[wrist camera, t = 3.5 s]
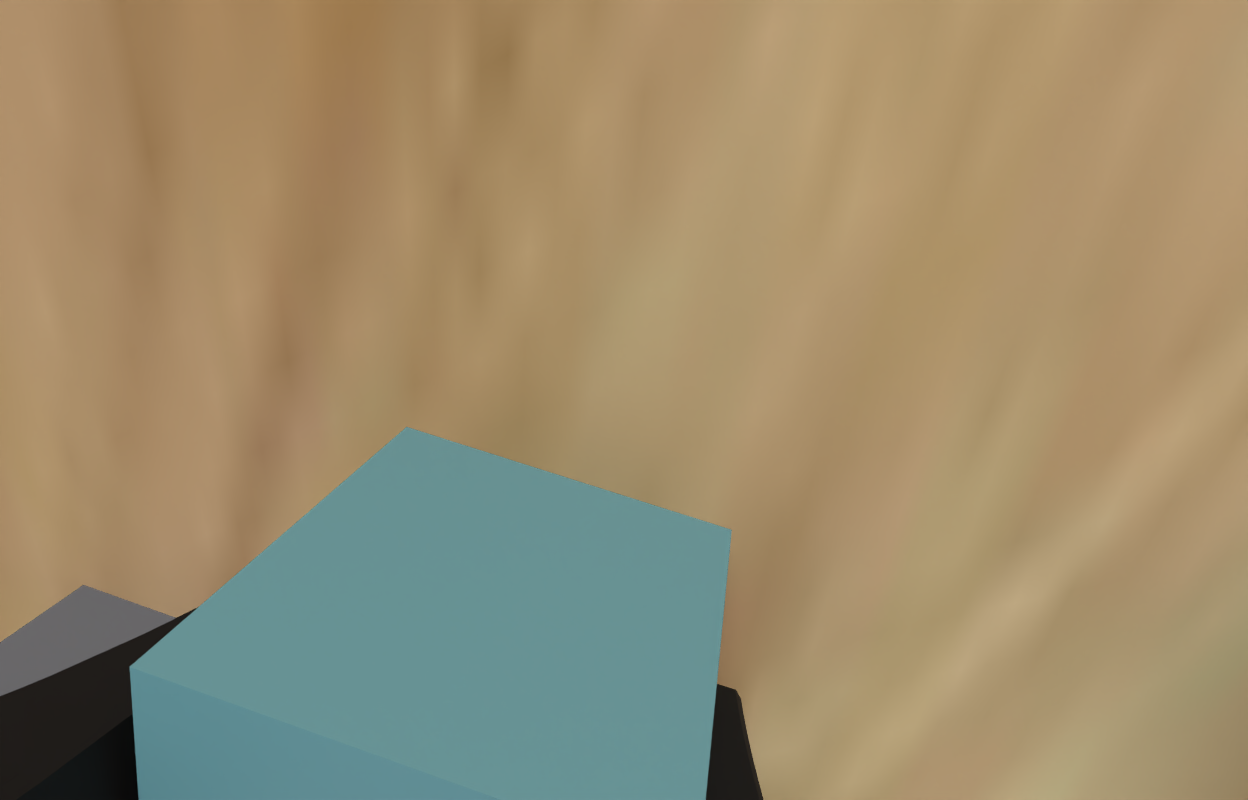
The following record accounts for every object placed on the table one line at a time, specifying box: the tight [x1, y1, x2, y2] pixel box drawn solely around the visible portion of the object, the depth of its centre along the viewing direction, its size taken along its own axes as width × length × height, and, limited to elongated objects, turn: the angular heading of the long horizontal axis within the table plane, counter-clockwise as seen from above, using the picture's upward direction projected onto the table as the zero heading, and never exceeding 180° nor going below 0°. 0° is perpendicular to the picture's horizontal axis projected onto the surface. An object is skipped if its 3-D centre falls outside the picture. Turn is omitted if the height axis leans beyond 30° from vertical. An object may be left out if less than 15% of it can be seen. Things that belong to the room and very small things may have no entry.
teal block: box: [130, 427, 732, 800], centre depth 9 cm, size 5×5×5 cm
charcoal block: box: [0, 585, 175, 696], centre depth 15 cm, size 5×5×5 cm
